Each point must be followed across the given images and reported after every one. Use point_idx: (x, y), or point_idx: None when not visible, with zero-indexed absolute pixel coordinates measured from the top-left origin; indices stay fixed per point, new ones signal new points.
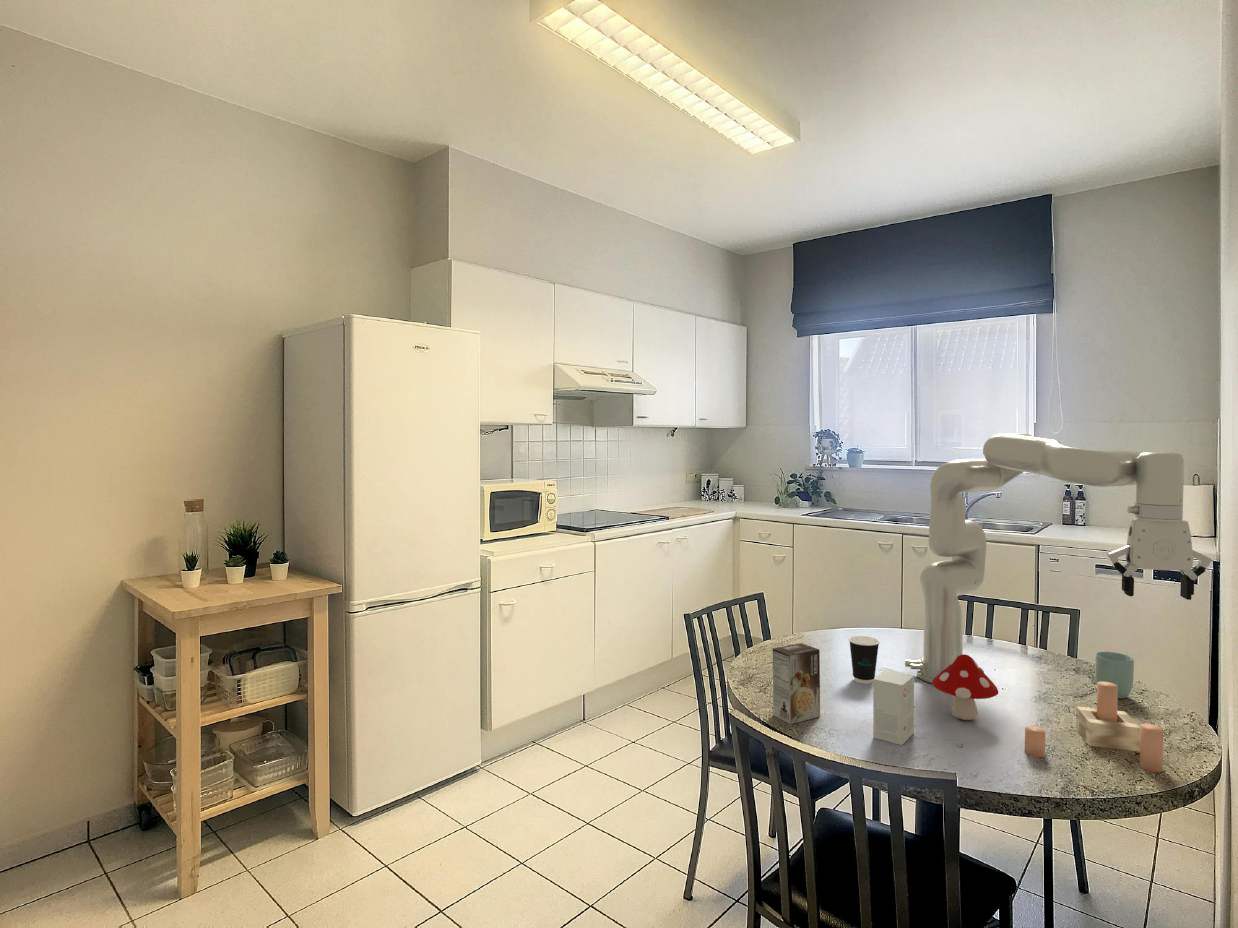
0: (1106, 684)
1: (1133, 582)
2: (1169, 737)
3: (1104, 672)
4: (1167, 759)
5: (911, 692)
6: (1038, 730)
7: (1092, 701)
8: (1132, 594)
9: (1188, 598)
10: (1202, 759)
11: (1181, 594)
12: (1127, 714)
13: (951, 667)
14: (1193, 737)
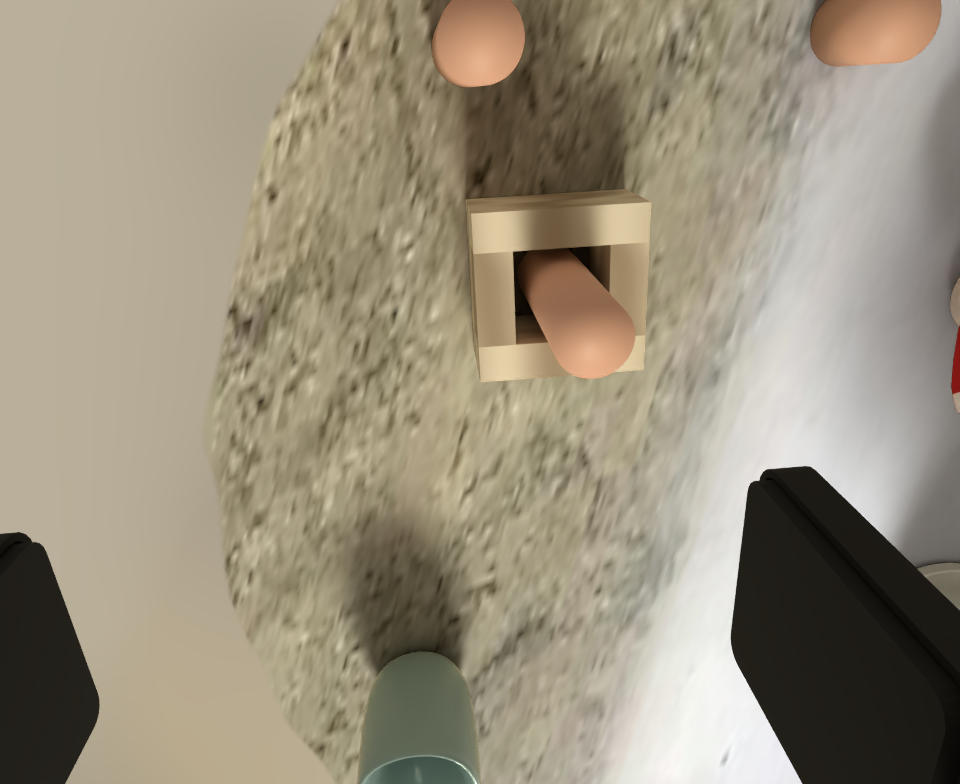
0: (597, 339)
1: (892, 619)
2: (335, 377)
3: (459, 714)
4: (390, 162)
5: None
6: (892, 13)
7: (498, 602)
8: (781, 477)
9: (8, 535)
10: (275, 211)
11: (79, 708)
12: (479, 352)
13: None
14: (260, 407)
